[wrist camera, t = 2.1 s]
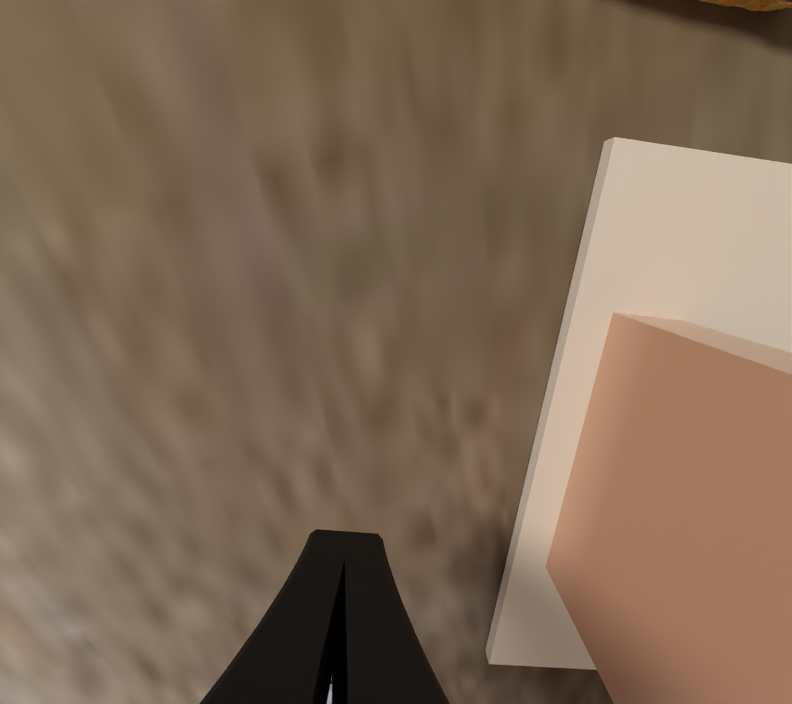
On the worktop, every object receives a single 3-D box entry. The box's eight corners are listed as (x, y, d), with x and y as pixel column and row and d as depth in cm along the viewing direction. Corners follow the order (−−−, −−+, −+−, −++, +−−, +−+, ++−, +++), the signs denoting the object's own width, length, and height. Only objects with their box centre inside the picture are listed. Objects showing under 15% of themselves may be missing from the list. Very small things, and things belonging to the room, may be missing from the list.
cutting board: (828, 669, 19) (841, 682, 19) (485, 650, 18) (489, 664, 18) (1066, 211, 14) (1095, 210, 14) (604, 141, 13) (614, 137, 12)
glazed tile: (610, 571, 17) (863, 940, 8) (545, 567, 16) (732, 940, 8) (690, 321, 14) (1198, 469, 5) (612, 311, 14) (1010, 451, 5)
